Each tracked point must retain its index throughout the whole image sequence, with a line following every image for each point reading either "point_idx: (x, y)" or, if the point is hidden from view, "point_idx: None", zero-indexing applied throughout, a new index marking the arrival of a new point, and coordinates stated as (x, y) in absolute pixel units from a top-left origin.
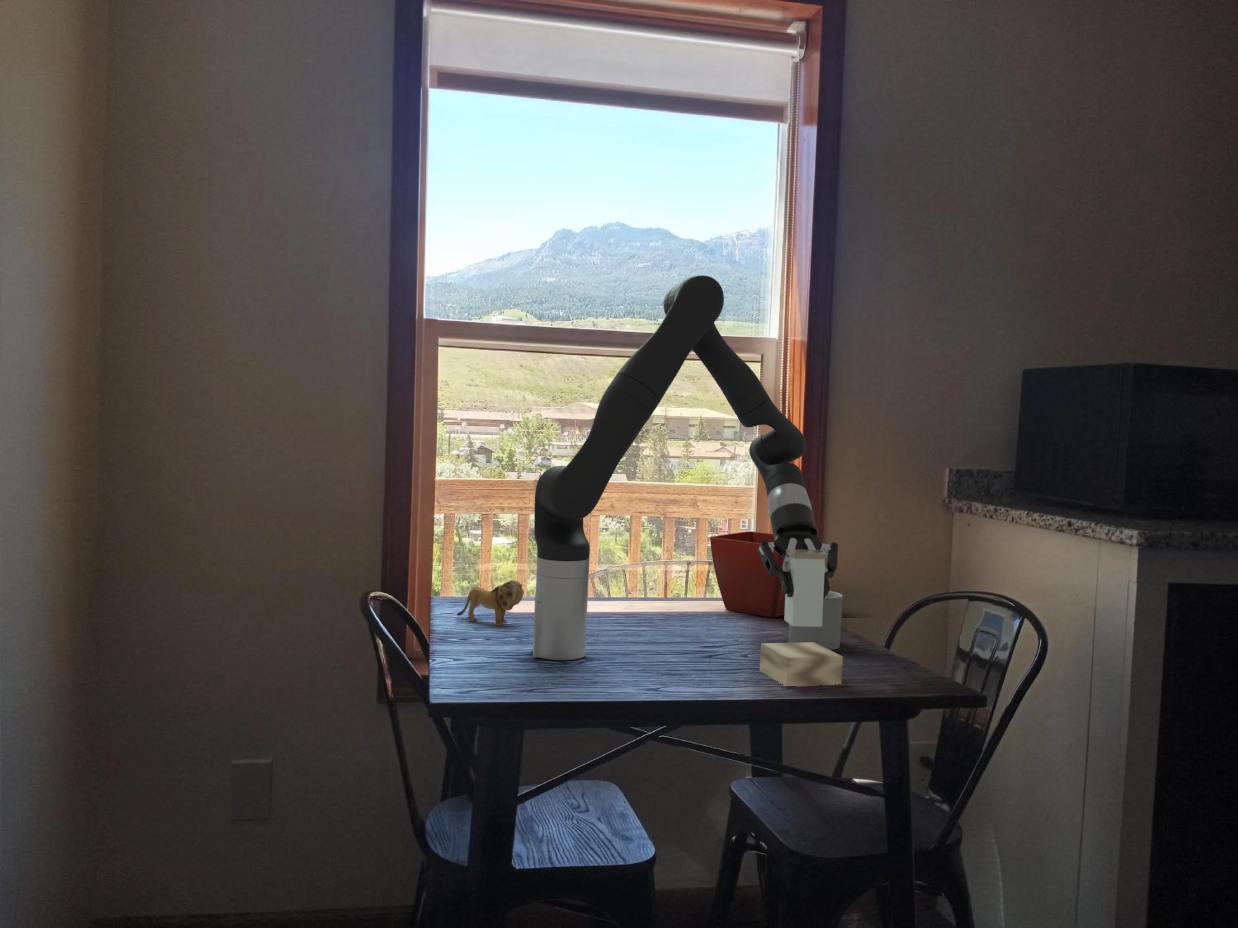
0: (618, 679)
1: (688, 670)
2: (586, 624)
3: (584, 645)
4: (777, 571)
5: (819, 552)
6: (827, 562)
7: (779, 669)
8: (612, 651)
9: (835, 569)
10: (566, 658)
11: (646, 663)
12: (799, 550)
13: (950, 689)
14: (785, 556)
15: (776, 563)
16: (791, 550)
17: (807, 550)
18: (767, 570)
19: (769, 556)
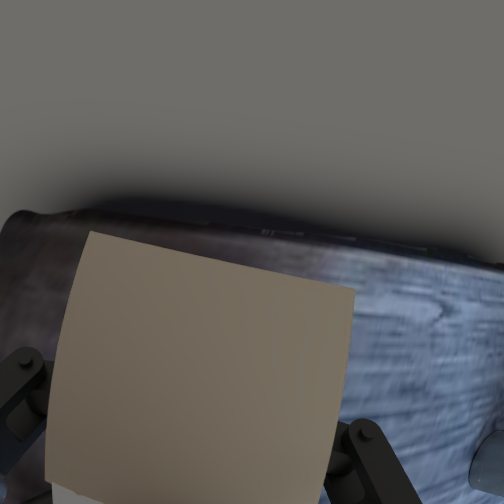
0: (469, 356)
1: (385, 414)
2: (500, 469)
3: (485, 457)
4: (339, 423)
5: (93, 332)
6: (15, 454)
7: None
8: (437, 497)
9: (27, 348)
10: (493, 433)
11: (424, 446)
12: (229, 466)
13: (8, 246)
14: None
15: (359, 442)
16: (309, 459)
17: (147, 462)
18: (356, 474)
19: (398, 480)
